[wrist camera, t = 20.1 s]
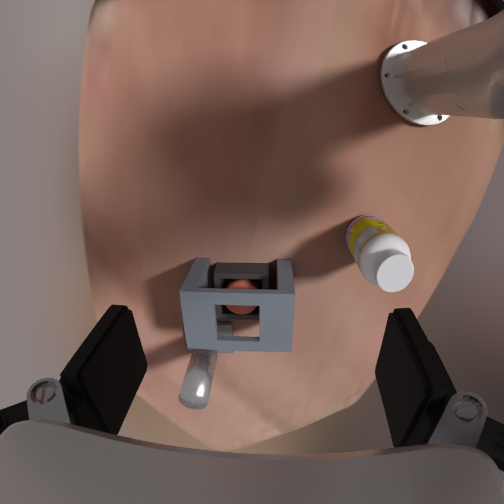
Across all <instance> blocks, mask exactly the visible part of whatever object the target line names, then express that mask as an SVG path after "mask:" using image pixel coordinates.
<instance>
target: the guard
mask: <svg viewBox="0 0 504 504" xmlns="http://www.w3.org/2000/svg"><path fill="white" fill-rule="evenodd" d="M224 279H263V289H224ZM268 284H269V263H217V265H216V268H215V271H214V287H215V288H211V277H210V264H209V258H196V259H195V261H194V263H193V265H192V267H191V269H190V271H189V273H188V275H187V277H186V278H185V280H184V282H183V284H182V286H181V288H180V290H179V295H180V302H181V309H182V316H183V323H184V330H185V336H186V342H187V348H195V349H211V350H231V351H263V352H291V346H292V333H293V320H294V305H295V288H294V280H293V272H292V265H291V259H277V282H276V290H268ZM215 305H216V307H215ZM226 305H248V306H257V307H256V308H255V309H254V310H253V311H252V312H250V313H248V314H236V313H234V312H232V311H230V310H229V309H228V308H227V307H226ZM216 313H217V318H220V319H253V320H260V337H241V336H218V332H217V320H216Z"/></svg>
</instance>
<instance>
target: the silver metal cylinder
mask: <svg viewBox="0 0 504 504" xmlns="http://www.w3.org/2000/svg"><path fill="white" fill-rule="evenodd" d="M218 336H219V335H218ZM218 351H219V350H211V349H195V348H194V349H193V352H192V355H191V358H190V361H189V365H188V368H187V371H186V374H185V377H184V381H183V384H182V387H181V390H180V394H179V401H180V402H181V403H182V404H183V405H184V406H186V407H188V408H191V409H203V408H205V407H206V406H207V403H208V398H209V393H210V389H211V384H212V379H213V375H214V370H215V365H216V361H217V356H218Z"/></svg>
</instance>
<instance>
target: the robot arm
mask: <svg viewBox="0 0 504 504" xmlns="http://www.w3.org/2000/svg"><path fill="white" fill-rule="evenodd" d="M402 47H404V49H403V48H402ZM385 74H386V75H387V78H386V77H385ZM380 80H381V86H382V89H383V92H384V95H385V97H386V99H387V101H388V102H389V104H390V105H391V106H392V108H393V109H394V110H395V111H396V112H397V113H398V114H399V115H400V116H402V117H403V118H404V119H406V120H408V121H410V122H412V123H415V124H418V125H425V126H429V125H436V124H440V123H442V122H443V121H445V120H446V119H448V118H449V117H450V116H465V117H478V118H490V119H504V10H503V11H501V12H500V13H498V14H496V15H495V16H493V17H491V18H489V19H487V20H485V21H483V22H480V23H478V24H475V25H473V26H471V27H468V28H465V29H462V30H460V31H457V32H454V33H452V34H449V35H446V36H444V37H441V38H439V39H436V40H434V41H431V42H429V43H425V42H422V41H417V40H408V41H404V42H400V43H398V44H396V45H395V46H393V47H392V48H391V49H390V50H389V51H388V52H387V53H386V55H385V56H384V59H383V61H382V64H381V69H380ZM403 110H404V111H405V113H403ZM437 116H438V119H437ZM146 371H147V361H146V358H145V354H144V351H143V348H142V345H141V341H140V338H139V335H138V331H137V328H136V324H135V320H134V317H133V313H132V311H131V310H129V309H128V307H127V306H125V305H111V306H110V307H109V308H108V310H107V311H106V312H105V314H104V315H103V316H102V318H101V319H100V320H99V322H98V323H97V324H96V326H95V327H94V328H93V330H92V331H91V332H90V334H89V335H88V336H87V338H86V339H85V340H84V342H83V343H82V345H81V346H80V347H79V349H78V350H77V352H76V353H75V354H74V355H73V357H72V358H71V360H70V361H69V362H68V364H67V365H66V367H65V368H64V370H63V371H62V373H61V374H60V376H61V378H60V380H59V381H57V380H56V379H53V378H44V379H40V380H38V381H36V382H35V383H34V384H32V385H31V387H30V388H29V390H28V392H27V400H26V401H23V402H21V403H18V404H16V405H13V406H10V407H7V408H4V409H2V410H0V504H504V424H502V423H500V422H497V421H495V420H493V419H491V418H489V417H487V407H486V404H485V403H484V401H483V399H481V398H480V397H479V396H478V395H476V394H474V393H471V392H459V393H457V392H456V390H455V388H454V386H453V383H452V381H451V379H450V377H449V375H448V373H447V371H446V369H445V367H444V365H443V363H442V361H441V359H440V357H439V355H438V353H437V351H436V349H435V347H434V346H433V344H432V343H431V342H429V341H428V339H427V337H426V335H425V334H424V332H423V330H422V328H421V326H420V324H419V322H418V321H417V319H416V317H415V315H414V313H413V311H412V310H411V309H410V308H398V309H394V311H393V313H390V314H389V316H388V320H387V324H386V329H385V333H384V337H383V341H382V345H381V349H380V353H379V357H378V361H377V364H376V368H375V376H376V380H377V383H378V387H379V391H380V394H381V398H382V402H383V406H384V409H385V413H386V417H387V421H388V425H389V429H390V434H391V438H392V442H393V446H394V448H389V449H380V450H372V451H360V452H348V453H332V454H308V455H272V454H271V455H270V454H246V453H231V452H219V451H209V450H200V449H192V448H184V447H177V446H171V445H164V444H158V443H153V442H147V441H142V440H137V439H132V438H128V437H123V436H118V435H117V434H118V433H119V430H120V428H121V426H122V424H123V421H124V419H125V417H126V415H127V412H128V410H129V408H130V406H131V403H132V401H133V399H134V397H135V395H136V392H137V390H138V388H139V386H140V384H141V382H142V379H143V377H144V375H145V373H146Z"/></svg>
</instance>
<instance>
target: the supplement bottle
mask: <svg viewBox="0 0 504 504" xmlns="http://www.w3.org/2000/svg"><path fill="white" fill-rule="evenodd" d="M346 243H347V246H348V248H349V250H350V252H351V254H352V256H353V257H354V259H355V261H356V263H357V265H358V266H359V268H360V270H361V272H362V274H363V276H364V277H365V278H366V279H367V280H368V281H369V282H370V283H372V284H374V285H377V286H379V287H380V288H381V289H383V290H384V291H387V292H397V291H400V290H402V289H403V288H405V287H406V286H407V285H408V284H409V282H410V281H411V279H412V277H413V274H414V266H413V263H412V261H411V255H410V250H409V248H408V246H407V244H406V243H405V241H404V240H403V239H402V238H401V237H400V236H399V235H398V234H397V233H396V232H395V231H394V230H393V229H392V228H391V227H390V226H389V225H388V224H387V223H386V222H384V221H383V220H382V219H381V218H379V217H378V216H375V215H363V216H360V217H358V218H356V219H355V220H354V221H353V222H352V223H351V224H350V226H349V227H348V229H347V233H346Z"/></svg>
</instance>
